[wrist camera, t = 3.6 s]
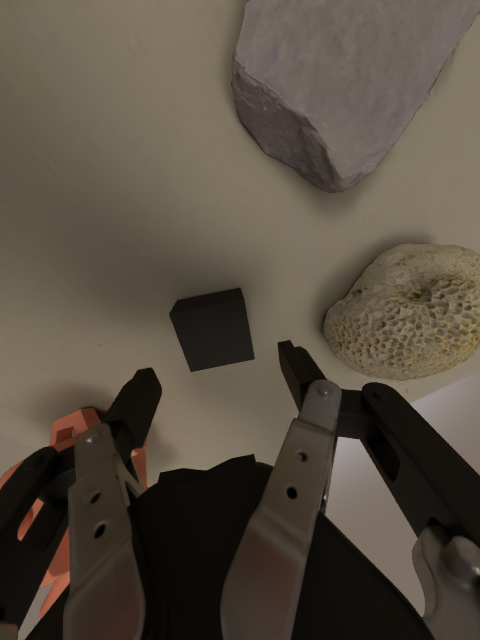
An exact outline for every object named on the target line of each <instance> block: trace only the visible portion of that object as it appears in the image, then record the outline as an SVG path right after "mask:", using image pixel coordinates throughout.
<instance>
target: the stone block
mask: <svg viewBox="0 0 480 640" xmlns="http://www.w3.org/2000/svg"><path fill="white" fill-rule="evenodd" d="M479 13H480V0H248V2H247V3H246V4H245V7H244V11H243V24H242V28H241V31H240V34H239V38H238V42H237V45H236V48H235V50H234V54H233V65H232V83H231V85H232V88H233V93H234V97H235V103H236V106H237V110H238V116H239V118H240V119H241V121H242V122H243V124H244V125H245V126H246V128H247V129H248V130H249V131H250V132H251V134H252V135H253V136H254V138H255V139H256V140H257V142H258V143H259V145H260V147H261V148H262V150H263V151H264V152H265V153H266V154H268V155H270V156H272V157H274V158H277V159H278V160H280V161H282V162H283V163H285V164H287V165H289V166H291V167H292V168H294V169H295V170H297V171H298V172H299V173H300V174H301V175H302V176H303V177H305V178H307V179H308V180H310V181H311V182H312V183H313V184H315V185H316V186H318V187H320V188H321V189H322V190H323V191H327V192H329V193H335V192H342V191H344V190H346V189H348V188H349V187H351V186H352V185H356V184H358V183H359V182H360V181H361V179H363V178H364V177H366V176H367V175H368V174H370V173H371V172H372V171H373V170H374V169H375V167H376V166H377V165H378V164H379V162H380V161H381V160H382V158H383V157H384V156H385V155H386V154H387V152H388V151H389V150H390V149H391V148H392V147H393V145H394V144H395V143H396V141H397V140H398V139H399V137H400V136H401V134H402V133H403V131H404V130H405V128H406V127H407V125H408V124H409V122H410V120H411V119H412V117H413V116H414V114H415V113H416V112H417V110H418V109H419V107H420V105H421V104H422V102H423V100H424V99H425V97H426V95H427V94H428V92H429V90H430V89H431V87H432V85H433V83H434V81H435V79H436V77H437V75H438V73H439V71H440V70H441V68H442V66H443V64H444V63H445V61H446V60H447V58H448V56H449V55H450V53H451V52H452V50H453V49H454V47H455V46H456V44H457V43H458V42H459V41H460V39H461V38H462V37H463V35H464V34H465V33H466V32H467V30H468V29H469V28H470V26H471V25H472V23H473V21H474V20H475V18H476V16H477V15H478V14H479Z"/></svg>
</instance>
